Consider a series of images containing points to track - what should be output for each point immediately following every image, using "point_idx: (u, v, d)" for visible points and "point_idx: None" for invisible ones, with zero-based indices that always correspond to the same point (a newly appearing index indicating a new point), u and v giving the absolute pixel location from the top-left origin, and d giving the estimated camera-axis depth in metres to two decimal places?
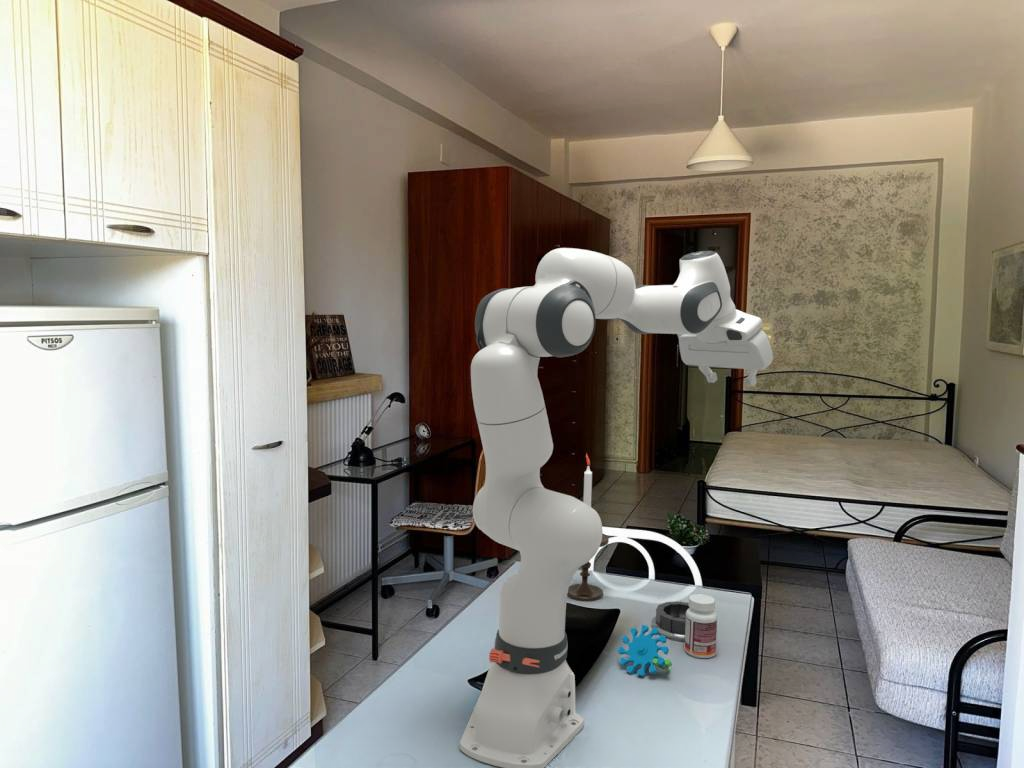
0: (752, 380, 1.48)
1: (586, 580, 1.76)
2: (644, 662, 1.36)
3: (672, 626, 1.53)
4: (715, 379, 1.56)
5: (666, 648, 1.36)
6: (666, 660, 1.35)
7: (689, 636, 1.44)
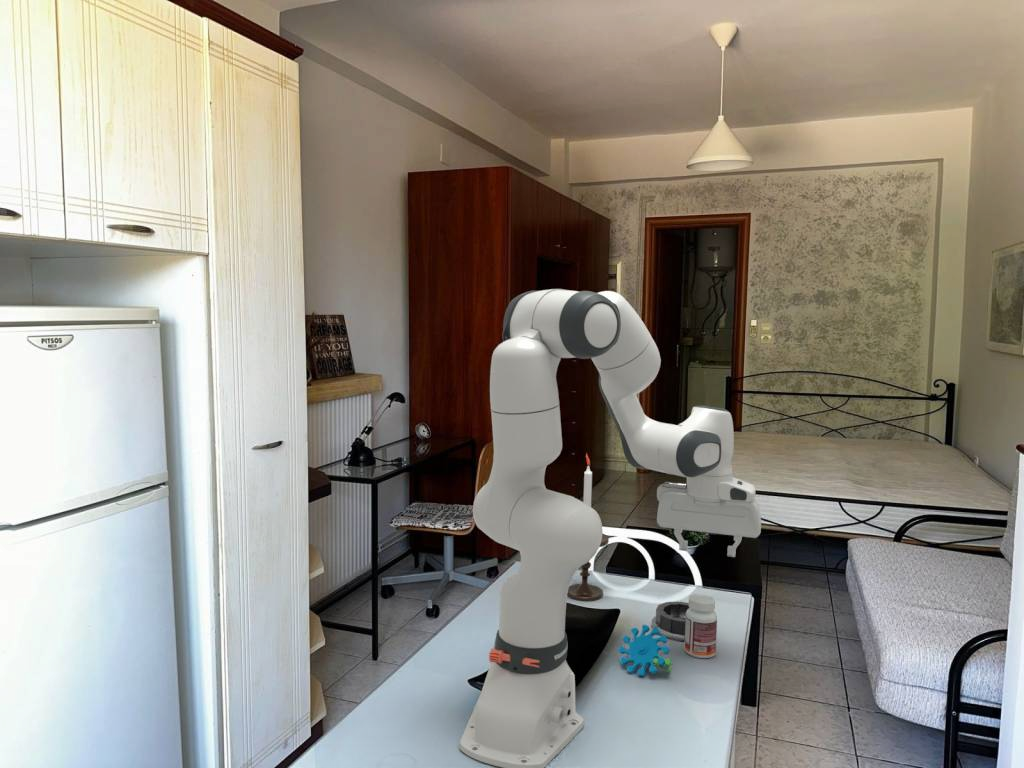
0: (735, 550, 1.43)
1: (586, 580, 1.76)
2: (644, 662, 1.36)
3: (672, 626, 1.53)
4: (686, 548, 1.47)
5: (666, 648, 1.36)
6: (666, 660, 1.35)
7: (689, 636, 1.44)
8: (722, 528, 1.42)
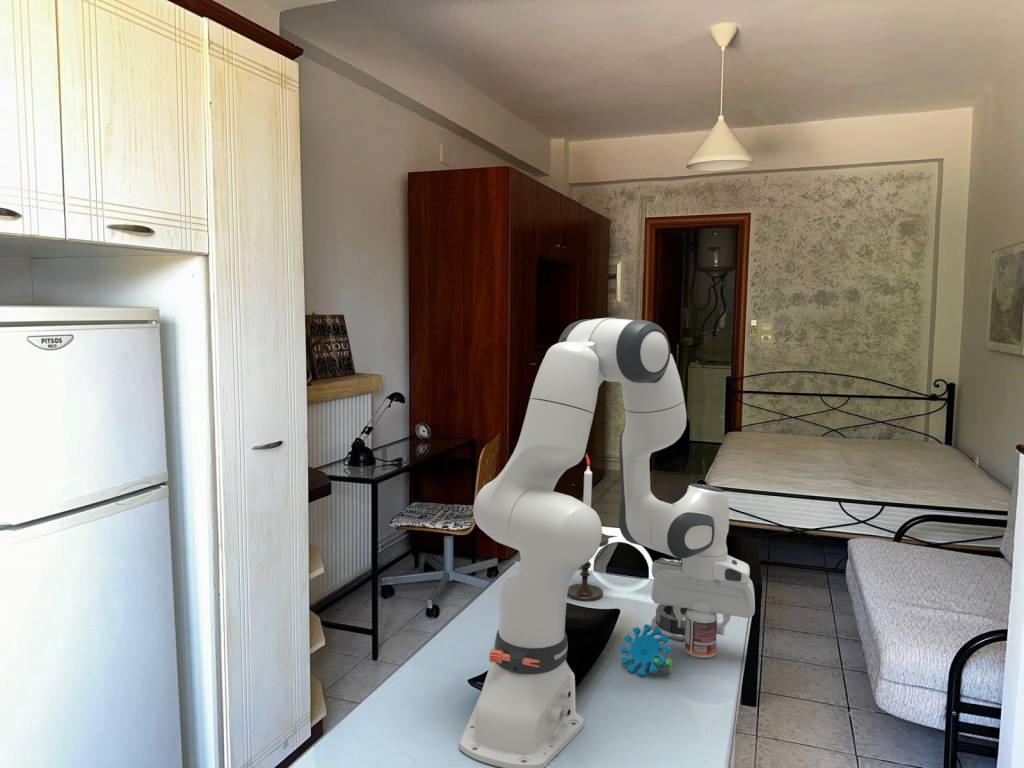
0: None
1: (586, 580, 1.76)
2: (645, 661, 1.36)
3: (672, 626, 1.53)
4: (685, 625, 1.47)
5: (667, 648, 1.36)
6: (667, 660, 1.35)
7: (689, 636, 1.44)
8: (716, 607, 1.43)
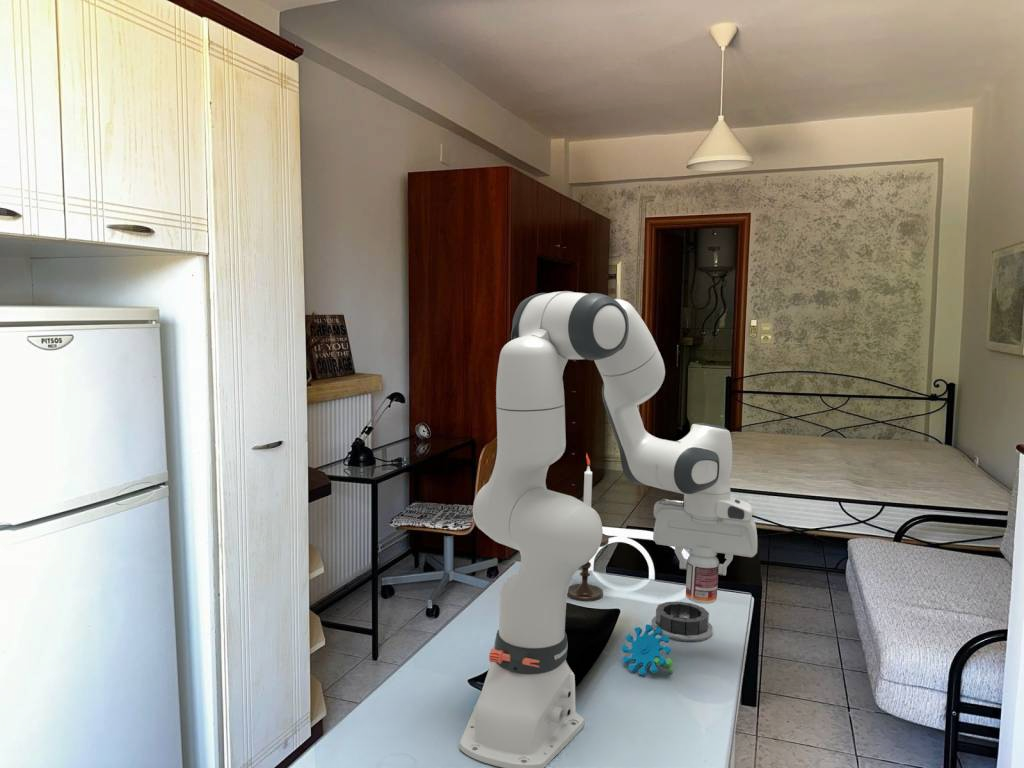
0: None
1: (586, 580, 1.76)
2: (646, 661, 1.37)
3: (672, 626, 1.53)
4: None
5: (668, 648, 1.36)
6: (667, 660, 1.35)
7: (691, 582, 1.43)
8: (719, 546, 1.42)
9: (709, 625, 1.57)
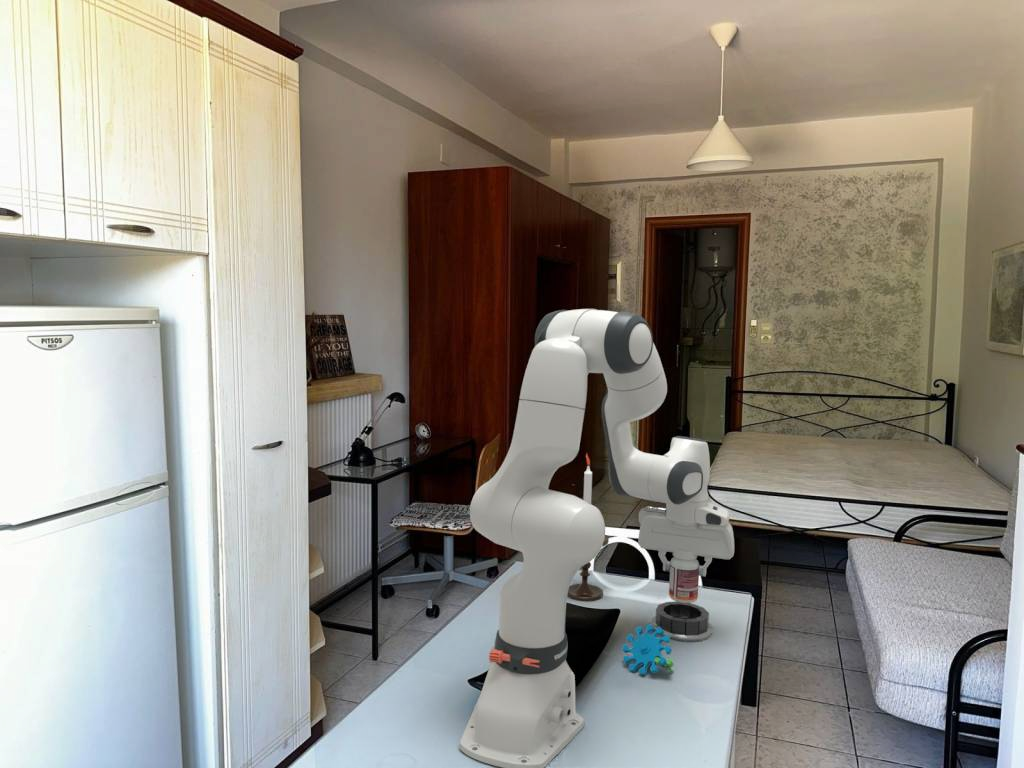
0: (705, 570, 1.54)
1: (586, 580, 1.76)
2: (646, 661, 1.37)
3: (672, 626, 1.53)
4: None
5: (669, 648, 1.36)
6: (667, 660, 1.35)
7: (673, 583, 1.55)
8: (698, 550, 1.53)
9: (709, 625, 1.57)
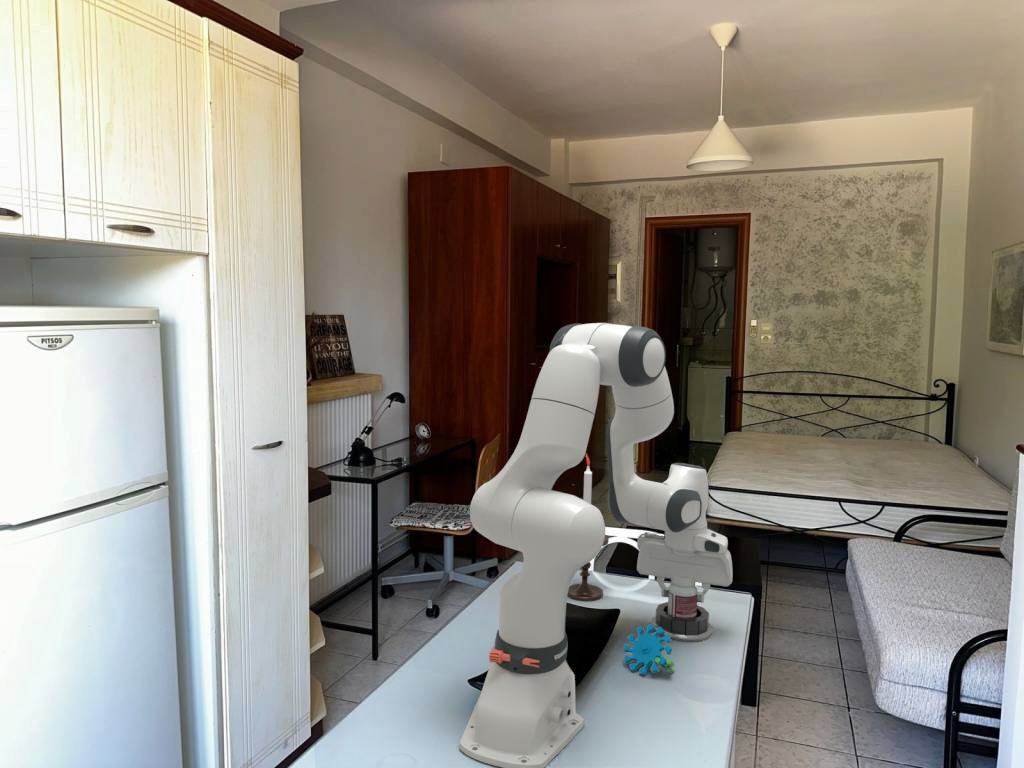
0: (703, 596, 1.55)
1: (586, 580, 1.76)
2: (647, 661, 1.37)
3: (672, 626, 1.53)
4: None
5: (669, 648, 1.36)
6: (668, 660, 1.35)
7: (672, 609, 1.55)
8: (697, 577, 1.54)
9: (709, 625, 1.57)
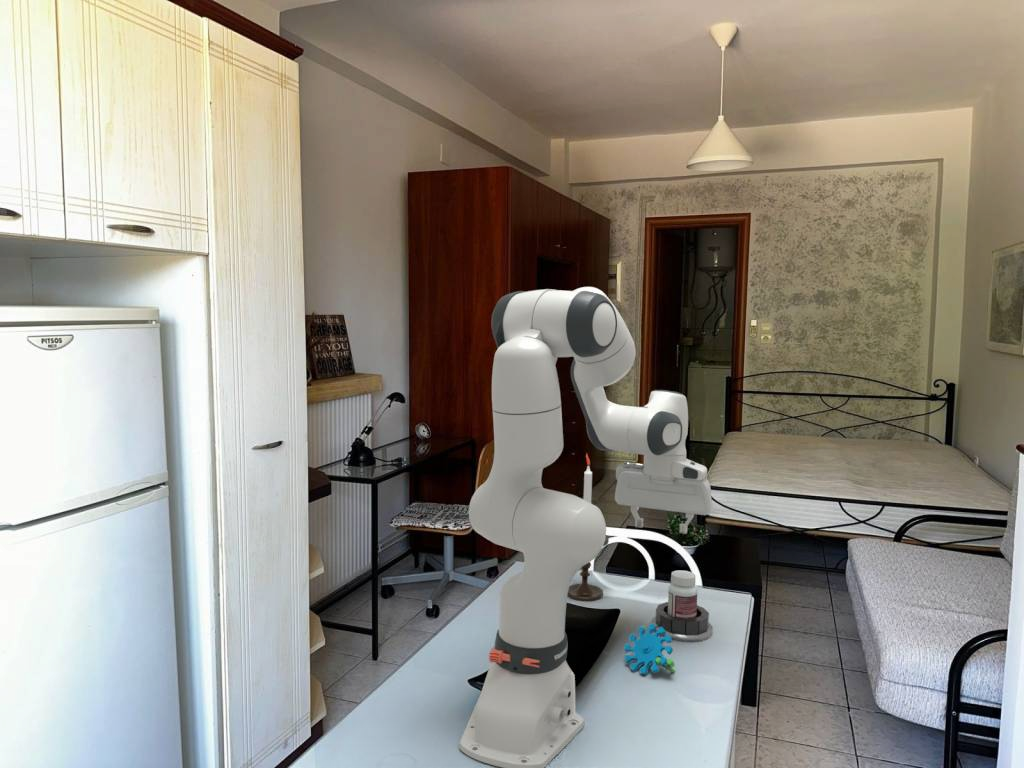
0: (686, 527, 1.52)
1: (586, 580, 1.76)
2: (647, 660, 1.37)
3: (672, 626, 1.53)
4: (642, 525, 1.56)
5: (670, 648, 1.36)
6: (668, 660, 1.35)
7: (672, 609, 1.55)
8: (675, 505, 1.51)
9: (709, 625, 1.57)
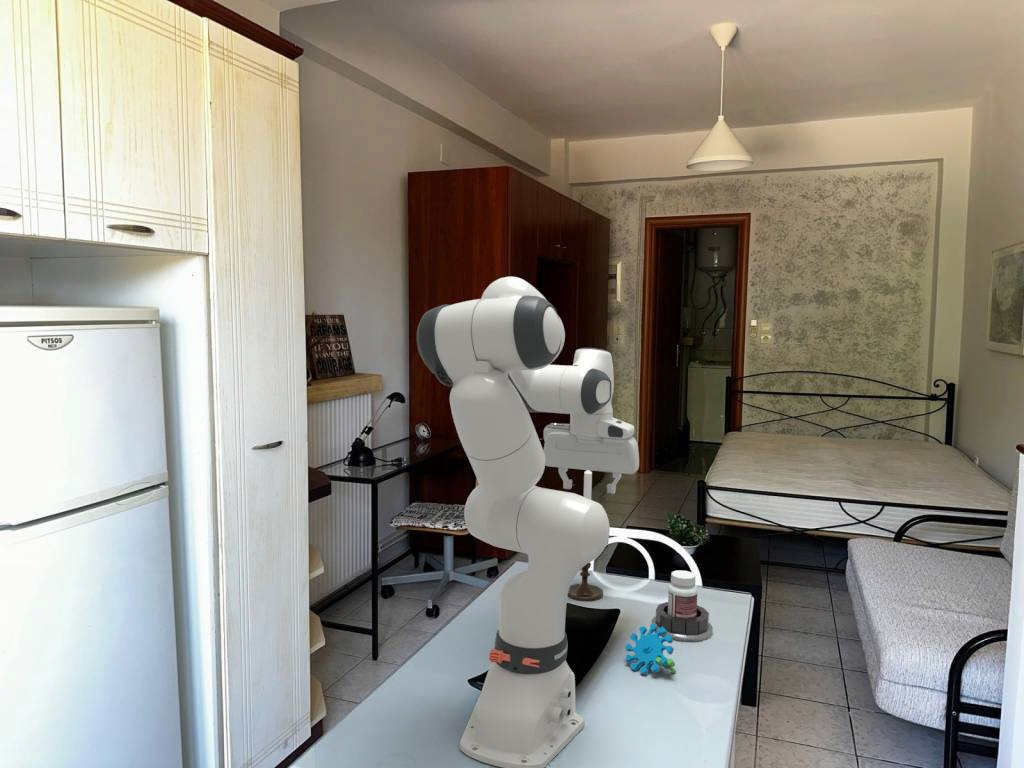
0: (614, 487, 1.49)
1: (586, 580, 1.76)
2: (648, 660, 1.37)
3: (672, 626, 1.53)
4: (570, 486, 1.53)
5: (670, 648, 1.36)
6: (668, 660, 1.35)
7: (672, 609, 1.55)
8: (601, 465, 1.48)
9: (709, 625, 1.57)
